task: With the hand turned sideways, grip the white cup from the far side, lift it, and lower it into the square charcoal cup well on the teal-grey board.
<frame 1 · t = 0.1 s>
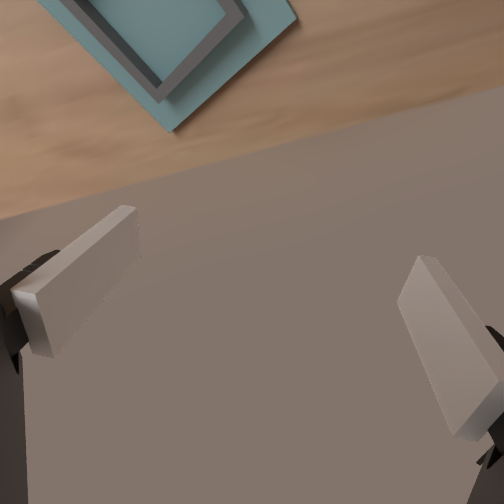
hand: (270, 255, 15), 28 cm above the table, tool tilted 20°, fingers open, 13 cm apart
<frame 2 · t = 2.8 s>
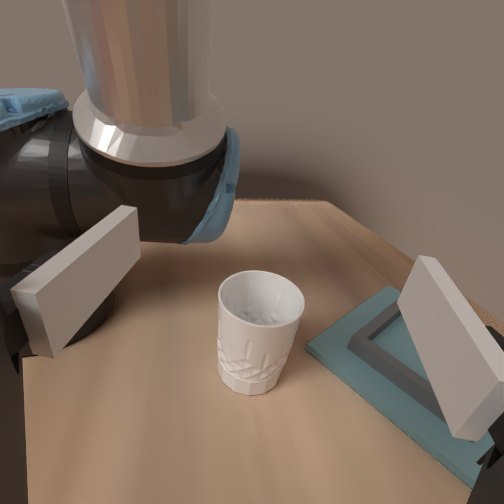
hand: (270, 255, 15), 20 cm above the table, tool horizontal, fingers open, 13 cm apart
glass holder: (424, 364, 37), on the table
white cup: (248, 368, 33), on the table
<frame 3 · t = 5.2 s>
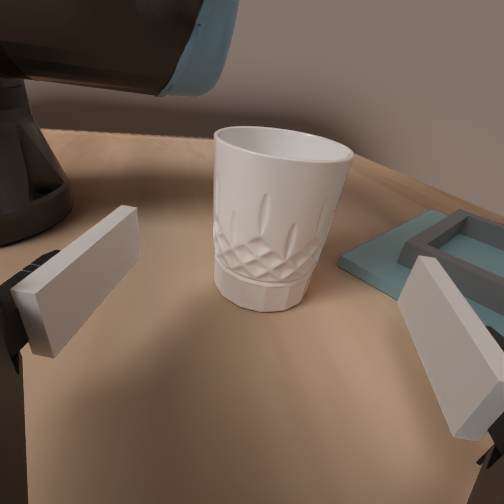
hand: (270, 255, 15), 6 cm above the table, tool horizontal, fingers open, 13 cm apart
glass holder: (502, 286, 26), on the table
white cup: (260, 284, 23), on the table
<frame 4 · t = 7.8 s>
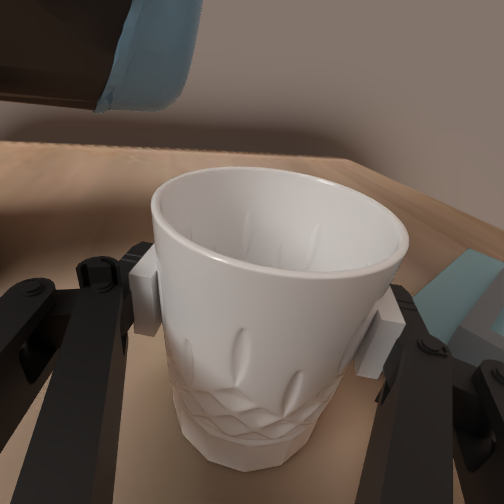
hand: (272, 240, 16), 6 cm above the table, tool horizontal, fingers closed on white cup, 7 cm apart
white cup: (245, 398, 15), on the table, touching gripper
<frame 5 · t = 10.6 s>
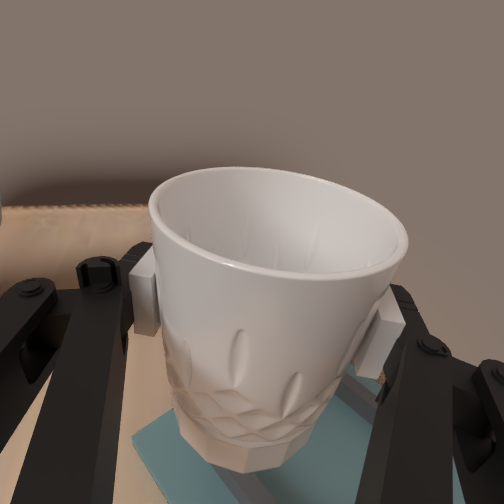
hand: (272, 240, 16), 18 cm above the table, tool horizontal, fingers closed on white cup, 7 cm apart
glass holder: (312, 458, 25), on the table
white cup: (244, 399, 15), point 12 cm above the table, touching gripper
when the fingers open (8 cm above the table, at t = 13.7 s): white cup drops 1 cm, resting on glass holder.
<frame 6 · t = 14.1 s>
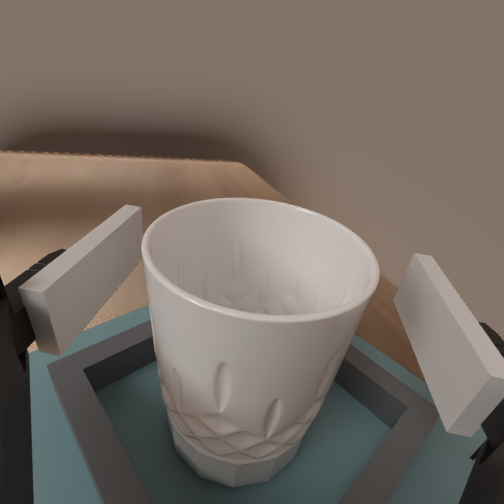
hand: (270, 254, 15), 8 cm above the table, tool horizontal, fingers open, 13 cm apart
glass holder: (240, 424, 16), on the table
white cup: (236, 414, 16), point 1 cm above the table, touching glass holder
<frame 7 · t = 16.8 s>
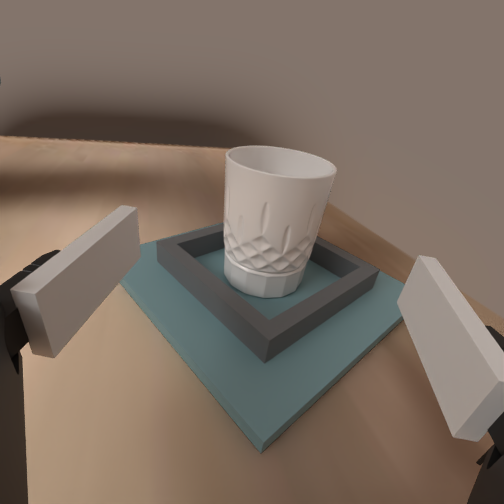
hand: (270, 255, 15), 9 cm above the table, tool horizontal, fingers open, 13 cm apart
glass holder: (264, 284, 28), on the table
white cup: (262, 276, 27), point 1 cm above the table, touching glass holder
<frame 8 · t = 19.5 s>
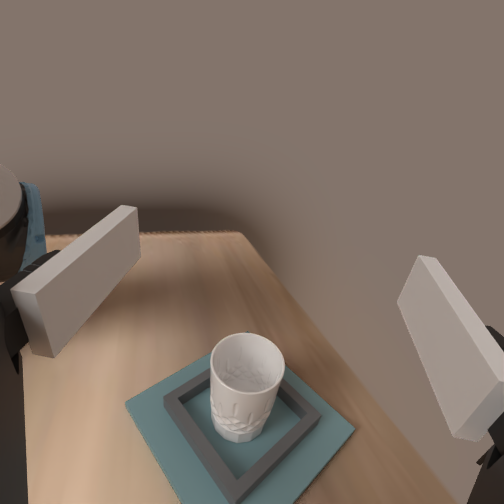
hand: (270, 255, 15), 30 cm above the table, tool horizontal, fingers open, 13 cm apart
glass holder: (240, 420, 39), on the table
white cup: (238, 416, 38), point 1 cm above the table, touching glass holder
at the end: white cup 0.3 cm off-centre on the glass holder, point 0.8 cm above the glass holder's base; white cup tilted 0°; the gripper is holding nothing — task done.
